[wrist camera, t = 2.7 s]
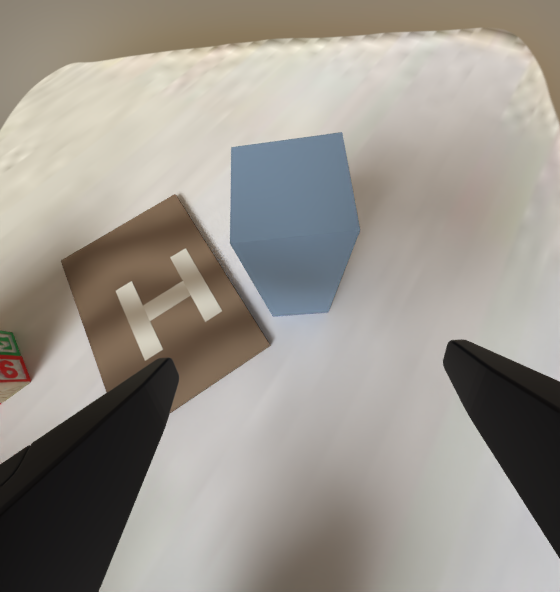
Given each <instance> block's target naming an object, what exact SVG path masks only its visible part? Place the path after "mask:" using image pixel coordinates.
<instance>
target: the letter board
mask: <svg viewBox="0 0 560 592" xmlns="http://www.w3.org/2000/svg"><path fill="white" fill-rule="evenodd" d="M61 262H62V265H63V268H64V271H65V274H66V277H67V280H68V283H69V285H70V288H71V291H72V294H73V297H74V300H75V303H76V306H77V308H78V311H79V314H80V317H81V320H82V323H83V326H84V328H85V331H86V334H87V337H88V340H89V343H90V346H91V349H92V351H93V354H94V357H95V360H96V363H97V366H98V369H99V372H100V374H101V377H102V380H103V383H104V386H105V389H106V392H109V391H110V390H112V389H113V388H115V387H116V386H118V385H119V384H121V383H122V382H124V381H125V380H127V379H128V378H129V377H131V376H132V375H134V374H135V373H137V372H138V371H140V370H141V369H143V368H144V367H146V366H147V365H149V364H150V363H152V362H153V361H155V360H156V359H158V358H166V357H169V358H171V359H172V360H173V362H174V364H175V366H176V369H177V371H178V374H179V383H178V387H177V390H176V393H175V397H174V400H173V403H172V407H171V410H170V413H171V412H173V411H174V410H176V409H177V408H179V407H180V406H182V405H183V404H185V403H186V402H188V401H189V400H191V399H192V398H194V397H195V396H197V395H198V394H200V393H201V392H202V391H204V390H205V389H207V388H208V387H210V386H211V385H213V384H214V383H216V382H217V381H219V380H220V379H222V378H223V377H225V376H226V375H228V374H229V373H231V372H232V371H234V370H235V369H237V368H238V367H240V366H241V365H243V364H244V363H245V362H247V361H248V360H250V359H251V358H253V357H254V356H256V355H257V354H259V353H260V352H262V351H263V350H265V349H266V348H268V347H269V346H271V345H270V344H269V342H268V341H267V339H266V338H265V336H264V334H263V333H262V331H261V330H260V328H259V326H258V325H257V323H256V322H255V320H254V318H253V317H252V315H251V314H250V312H249V310H248V309H247V307H246V306H245V304H244V302H243V301H242V299H241V298H240V296H239V295H238V293H237V291H236V290H235V288H234V287H233V285H232V283H231V282H230V280H229V279H228V277H227V275H226V274H225V272H224V271H223V269H222V267H221V266H220V264H219V263H218V261H217V259H216V258H215V256H214V255H213V253H212V252H211V250H210V248H209V247H208V245H207V244H206V242H205V240H204V239H203V237H202V236H201V234H200V232H199V231H198V229H197V228H196V226H195V224H194V223H193V221H192V220H191V218H190V216H189V215H188V213H187V212H186V210H185V209H184V207H183V205H182V204H181V202H180V201H179V199H178V197H177V196H176V195H175V194H174V195H173V196H171V197H169V198H167V199H166V200H164V201H162V202H161V203H159V204H157V205H155V206H154V207H152V208H150V209H149V210H147V211H145V212H143V213H142V214H140V215H138V216H137V217H135V218H133V219H131V220H130V221H128V222H126V223H125V224H123V225H121V226H119V227H118V228H116V229H114V230H113V231H111V232H109V233H107V234H106V235H104V236H102V237H101V238H99V239H97V240H95V241H94V242H92V243H90V244H89V245H87V246H85V247H84V248H82V249H80V250H78V251H77V252H75V253H73V254H72V255H70V256H68V257H66V258H65V259H63V260H61Z"/></svg>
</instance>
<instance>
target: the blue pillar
mask: <svg viewBox="0 0 560 592" xmlns="http://www.w3.org/2000/svg"><path fill="white" fill-rule="evenodd" d="M359 232H360V226H359V221H358V216H357V210H356V205H355V199H354V194H353V189H352V183H351V178H350V172H349V167H348V162H347V156H346V151H345V145H344V140H343V135H342V132H341V133H333V134H326V135H319V136H311V137H304V138H297V139H289V140H282V141H275V142H267V143H260V144H252V145H245V146H238V147H231V212H230V244H231V246H232V248H233V249H234V251H235V253H236V254H237V256H238V258H239V259H240V261H241V263H242V265H243V266H244V268H245V270H246V271H247V273H248V275H249V277H250V278H251V280H252V282H253V283H254V285H255V287H256V288H257V290H258V292H259V294H260V295H261V297H262V299H263V300H264V302H265V304H266V306H267V307H268V309H269V311H270V312H271V314H272V316H273V317H274V316H287V315H300V314H314V313H327V312H328V311H329V309H330V306H331V304H332V301H333V299H334V296H335V293H336V291H337V288H338V286H339V283H340V281H341V278H342V275H343V273H344V270H345V268H346V265H347V263H348V260H349V257H350V255H351V252H352V250H353V247H354V245H355V242H356V239H357V237H358V234H359Z"/></svg>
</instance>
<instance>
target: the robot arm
mask: <svg viewBox="0 0 560 592" xmlns="http://www.w3.org/2000/svg"><path fill="white" fill-rule="evenodd" d="M443 365H444V368H445V370H446V372H447V374H448V376H449V378H450V380H451V382H452V384H453V386H454V388H455V390H456V392H457V394H458V396H459V398H460V400H461V402H462V404H463V406H464V408H465V410H466V411H467V413H468V415H469V417H470V418H471V420H472V422H473V423H474V425H475V426H476V428H477V430H478V431H479V433H480V434H481V436H482V437H483V439H484V441H485V442H486V444H487V445H488V447H489V448H490V450H491V452H492V453H493V455H494V456H495V458H496V459H497V461H498V463H499V464H500V466H501V467H502V469H503V470H504V472H505V474H506V475H507V477H508V478H509V480H510V481H511V483H512V485H513V486H514V488H515V489H516V491H517V492H518V494H519V496H520V497H521V499H522V500H523V502H524V503H525V505H526V507H527V508H528V510H529V511H530V513H531V514H532V516H533V518H534V519H535V521H536V522H537V524H538V525H539V527H540V528H541V530H542V532H543V533H544V535H545V536H546V538H547V539H548V541H549V543H550V544H551V546H552V547H553V549H554V550H555V552H556V554H557V555H558V557H559V558H560V382H559V381H557V380H555V379H552V378H550V377H548V376H546V375H543V374H541V373H539V372H537V371H534V370H532V369H530V368H528V367H526V366H523V365H521V364H519V363H517V362H514V361H512V360H510V359H508V358H505V357H503V356H501V355H499V354H496V353H494V352H492V351H490V350H487V349H485V348H483V347H481V346H478V345H476V344H474V343H472V342H469V341H467V340H451V341H449V342H448V344H447V348H446V351H445V355H444V359H443ZM178 383H179V374H178V371H177V369H176V366H175V364H174V362H173V360H172V359H171V358H169V357H166V358H158V359H156V360H155V361H153V362H152V363H150V364H149V365H147V366H146V367H144V368H143V369H141V370H140V371H138V372H137V373H135V374H134V375H132V376H131V377H129V378H128V379H127V380H125V381H124V382H122V383H121V384H119V385H118V386H116V387H115V388H113V389H112V390H110V391H109V392H107V393H106V394H104V395H103V396H101V397H100V398H98V399H97V400H95V401H94V402H92V403H91V404H89V405H88V406H86V407H85V408H83V409H82V410H80V411H79V412H77V413H76V414H75V415H73V416H72V417H70V418H69V419H67V420H66V421H64V422H63V423H61V424H60V425H58V426H57V427H55V428H54V429H52V430H51V431H49V432H48V433H46V434H45V435H43V436H42V437H40V438H39V439H37V440H36V441H34V442H33V443H32V444H31V446H27V447H25V448H24V449H22V450H21V451H19V452H18V453H17V454H15V455H14V456H12V457H11V458H9V459H8V460H6V461H5V462H3V463H2V464H0V592H99V589H100V587H101V585H102V582H103V580H104V577H105V575H106V572H107V570H108V567H109V565H110V562H111V560H112V557H113V555H114V552H115V550H116V548H117V545H118V543H119V540H120V538H121V535H122V533H123V530H124V528H125V525H126V523H127V520H128V518H129V515H130V513H131V511H132V508H133V506H134V503H135V501H136V498H137V496H138V493H139V491H140V488H141V486H142V483H143V481H144V478H145V476H146V474H147V471H148V469H149V466H150V464H151V461H152V459H153V456H154V454H155V451H156V449H157V446H158V444H159V441H160V439H161V436H162V434H163V431H164V429H165V426H166V423H167V420H168V417H169V414H170V410H171V407H172V403H173V400H174V397H175V393H176V390H177V387H178Z"/></svg>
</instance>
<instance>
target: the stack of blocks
mask: <svg viewBox="0 0 560 592" xmlns="http://www.w3.org/2000/svg"><path fill="white" fill-rule="evenodd" d="M30 382H31V379H30V377H29V374H28V371H27V369H26V366H25V363H24V361H23V358H22V356H21V354H20V352H19V349H18V346H17V343H16V341H15V338H14V335H13V333H12V332H6V331H0V404H1V403H2V402H4V401H6V400H7V399H8V398H10V397H11V396H13V395H14V394H15V393H17V392H18V391H19V390H21V389H22V388H24V387H25V386H26V385H28V384H29V383H30Z"/></svg>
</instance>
